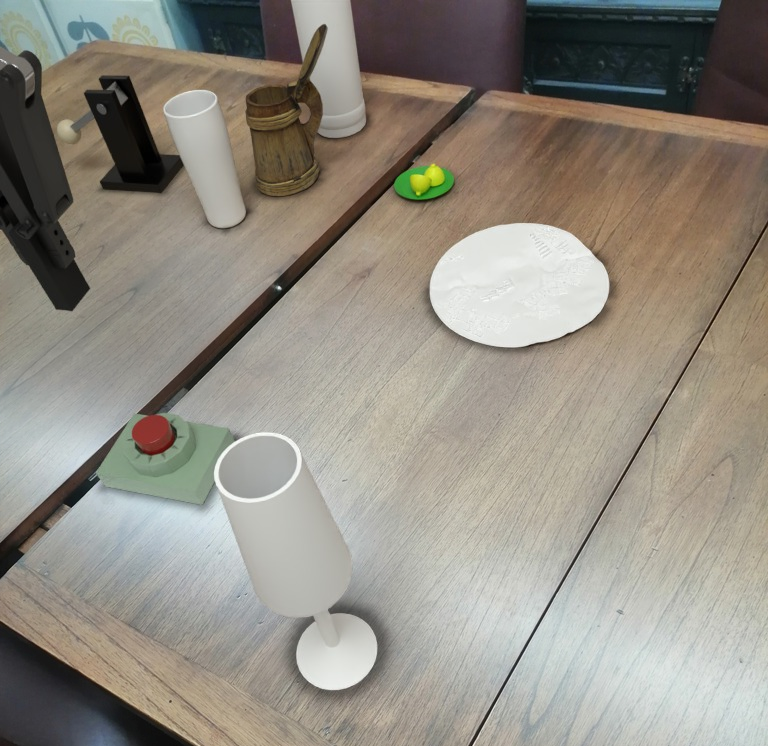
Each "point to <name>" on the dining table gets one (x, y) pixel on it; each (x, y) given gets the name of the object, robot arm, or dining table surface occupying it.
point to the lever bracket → (129, 140)
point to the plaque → (518, 285)
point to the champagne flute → (295, 554)
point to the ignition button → (153, 434)
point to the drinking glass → (206, 154)
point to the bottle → (333, 64)
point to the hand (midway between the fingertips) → (73, 298)
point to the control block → (167, 461)
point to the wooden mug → (286, 128)
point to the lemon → (424, 182)
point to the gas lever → (83, 120)
